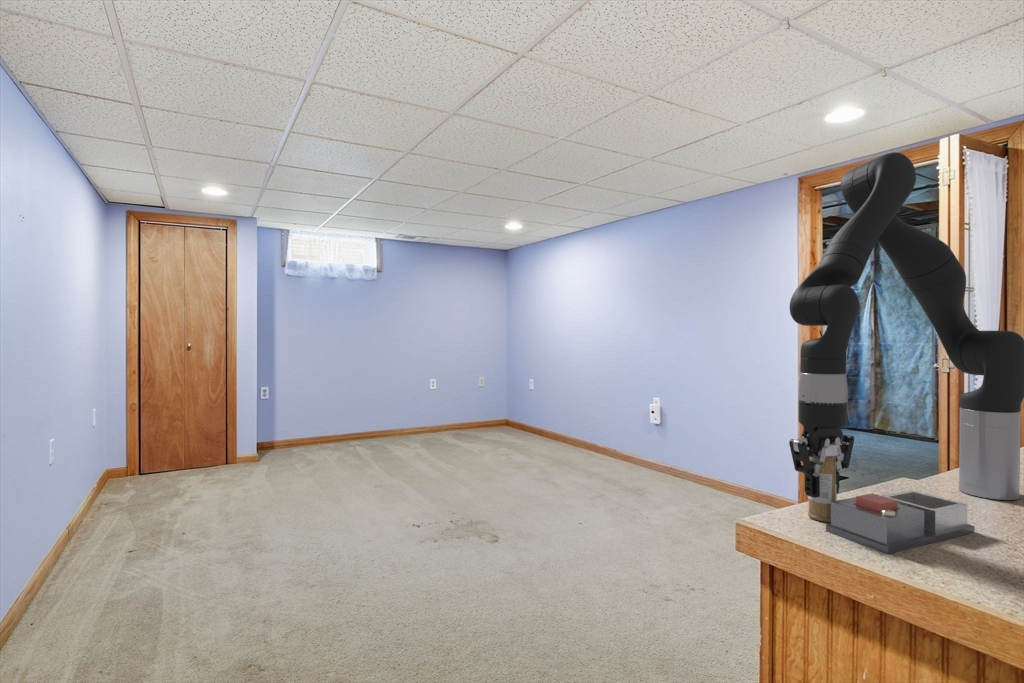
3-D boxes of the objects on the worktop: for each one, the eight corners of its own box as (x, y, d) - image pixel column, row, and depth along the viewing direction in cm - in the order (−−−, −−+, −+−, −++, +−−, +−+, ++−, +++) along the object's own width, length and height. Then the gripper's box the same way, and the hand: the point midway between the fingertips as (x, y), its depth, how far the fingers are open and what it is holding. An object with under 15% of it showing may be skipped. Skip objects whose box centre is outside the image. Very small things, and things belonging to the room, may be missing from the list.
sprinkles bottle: (841, 519, 94) (842, 443, 94) (828, 524, 92) (829, 446, 92) (815, 512, 98) (815, 439, 98) (802, 517, 96) (802, 442, 95)
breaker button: (871, 523, 89) (872, 493, 89) (897, 531, 85) (897, 500, 85) (855, 526, 87) (855, 496, 87) (880, 535, 84) (881, 503, 84)
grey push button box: (909, 513, 97) (909, 482, 97) (974, 532, 88) (974, 498, 88) (825, 531, 89) (826, 497, 89) (888, 553, 80) (888, 516, 80)
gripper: (830, 394, 101) (829, 484, 101) (775, 398, 95) (774, 493, 96) (870, 399, 94) (869, 495, 94) (813, 403, 88) (812, 506, 89)
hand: (821, 494), depth 95 cm, fingers closed on sprinkles bottle, 4 cm apart
